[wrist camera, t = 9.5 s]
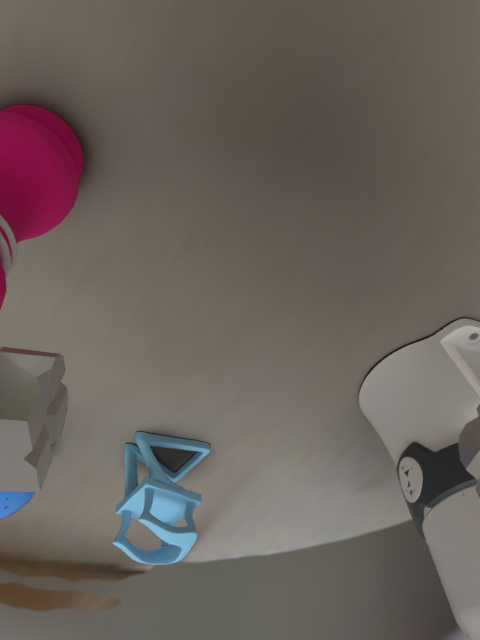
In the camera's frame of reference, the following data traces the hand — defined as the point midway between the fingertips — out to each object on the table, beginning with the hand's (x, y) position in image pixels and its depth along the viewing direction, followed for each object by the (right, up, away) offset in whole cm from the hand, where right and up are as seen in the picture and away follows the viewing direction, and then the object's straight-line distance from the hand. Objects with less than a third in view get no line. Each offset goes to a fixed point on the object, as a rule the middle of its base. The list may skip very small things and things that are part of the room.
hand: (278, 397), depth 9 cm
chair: (-10, -13, +44) cm, 47 cm away
